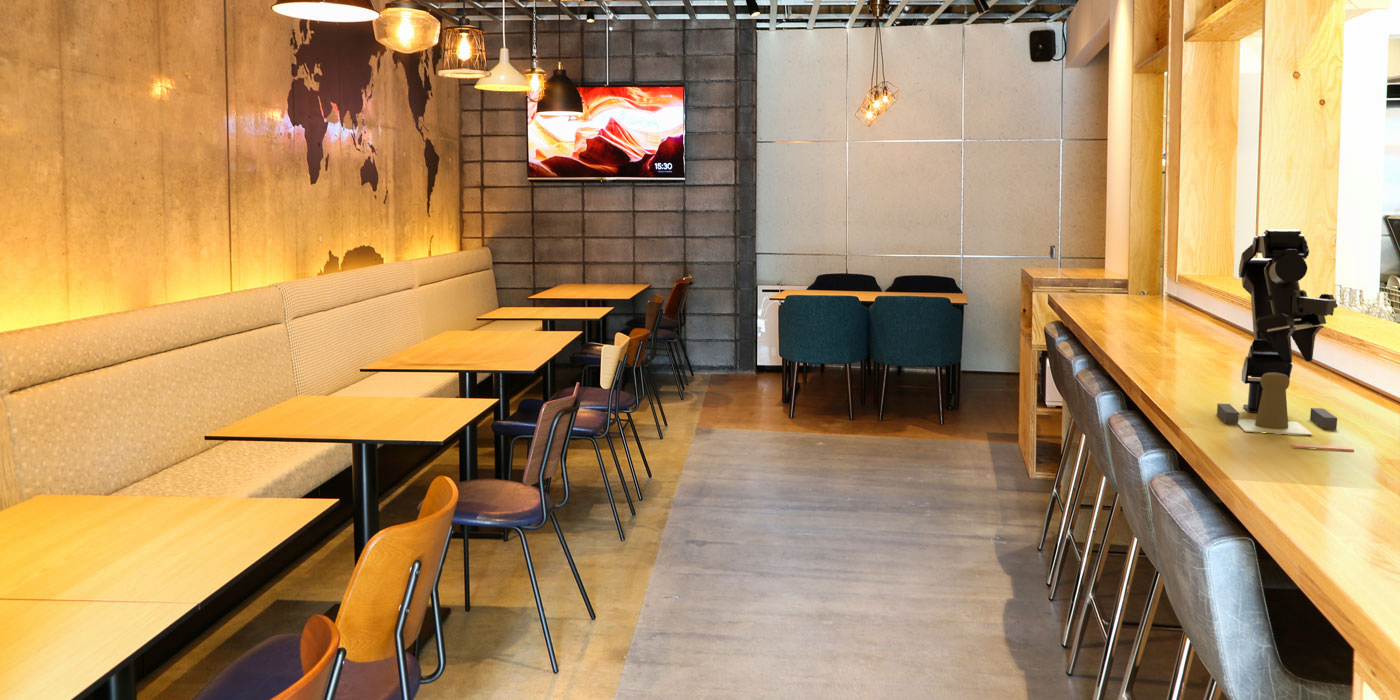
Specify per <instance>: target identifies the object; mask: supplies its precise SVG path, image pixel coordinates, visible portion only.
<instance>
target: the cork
mask: <svg viewBox="0 0 1400 700" xmlns="http://www.w3.org/2000/svg"><path fill="white" fill-rule="evenodd" d="M1260 383H1261V386H1262V387H1263V391H1262V396H1261V400H1260V404H1259V409H1258V412H1256V418H1255V420H1256V422H1255V425H1256V426H1258V427H1262V428H1268V429H1287V428H1288V421H1289V418H1288V417H1289V416H1288V402H1287V391H1286V390H1287V389H1288V388H1289V387H1290V379H1289V377H1288V376H1287V375H1285V374H1282V373H1275V372H1272V373H1265V374H1263V375H1262V377H1261V381H1260Z"/></svg>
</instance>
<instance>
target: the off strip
mask: <svg viewBox="0 0 1400 700" xmlns="http://www.w3.org/2000/svg"><path fill="white" fill-rule="evenodd" d="M1290 446H1291V447H1292V448H1293V447H1294V448H1293V449H1300V448H1316V449H1315V450H1317V449H1327V450H1326V451H1334V450H1337V452H1338V451H1339V452H1350V453H1352V452H1355V449H1354V448H1353V447H1351V446H1337V445H1336V446H1335V445H1323V444H1322V445H1321V444H1320V445H1319V444H1305V443H1304V444H1303V443H1290Z"/></svg>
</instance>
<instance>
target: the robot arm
mask: <svg viewBox="0 0 1400 700" xmlns="http://www.w3.org/2000/svg"><path fill="white" fill-rule="evenodd" d="M1301 233H1302V232H1301V229H1296V228H1294V229H1293V228H1292V229H1291V228H1287V229H1285V228H1283V229H1281V228H1278V229H1277V228H1276V229H1275V228H1267V229H1265V231H1264V232H1263V234H1261V235H1260V234H1259V235H1257V236H1253V240H1252V244H1251V245H1250V246H1248V247H1247V248H1246V249H1245V250H1244V251H1243V252H1242V253H1241V255H1240V257H1241V258H1240V262H1239V265H1238V266H1239V267H1238V277H1239V278H1240V279H1241V285H1242V288H1243V289H1244V290H1245V291H1246V292H1247V293H1249V295H1250V301H1251V315H1252V317H1251V318H1252V330H1253V331H1252V332H1253V342H1251V343H1252V344H1251V345H1250V347H1249V350H1248V354H1247V355H1246V356H1245V358H1244V362H1243V366H1242V369H1241V382H1243V383H1244V384H1246V385H1247V384H1249V385H1248V386H1249V387H1248V397H1247V398H1248V399H1247V404H1242V405H1243V406H1242V407H1243V408H1244V409H1245V410H1246V411H1248V412H1250V413H1258V409H1259V404H1260V400H1261V396H1262V391H1263V387H1262V386H1261V383H1260V381H1261V377H1262V375H1263V374H1265V373H1272V372H1275V373H1282V374H1285V375H1287V376H1288V377H1289V380H1290V377H1291V374H1292V369H1293V364H1292V362H1293V352H1292V340H1293V341H1294V343H1295V345H1296V347H1297V348H1298V350H1299V352H1300V354H1301V356H1302V357H1303V358H1304V361H1305V362H1312V361H1313V358H1314V356H1313V355H1314V349H1315V348H1314V347H1315V341H1316V335H1317V334H1318V333H1319V332H1320V330H1321V329H1323V328H1324V325H1326V324H1327V320H1326V317H1327V316H1334V312H1335V309H1337V308H1338V304H1337V299H1335V297H1334V295H1333V294H1331V293H1321V294H1320V295H1319V297H1312V296H1311V297H1310V296H1308V294H1307V291H1306V290H1304V289H1301V288H1300V283H1299V281H1300V280H1302V279H1303V278H1304V277H1306V274H1307V273H1308V272H1307V271H1308V265H1307V262H1306V261H1305V260H1306V259H1307V257H1309V254H1310V250H1309V249H1310V248H1309V246H1308V241H1307V240H1306V238H1305V235H1304V234H1301ZM1257 254H1261V256H1262V257H1255V256H1257Z"/></svg>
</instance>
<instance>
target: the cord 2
mask: <svg viewBox="0 0 1400 700" xmlns="http://www.w3.org/2000/svg"><path fill="white" fill-rule="evenodd" d="M1309 419H1310V420H1311V421H1312V420H1313V421H1314V422H1313V421H1312V422H1313V423H1315V424H1316V423H1317V424H1318V425H1317V424H1316V425H1317V426H1319V427H1320V426H1321V427H1322V428H1325V429H1324V430H1334V429H1336V430H1337V426H1338V417H1337V416H1335V415H1334V414H1333V413H1331V412H1329V410H1326V409H1325V408H1322V407H1319V408H1317V407H1310V417H1309ZM1321 427H1320V428H1321ZM1322 428H1321V429H1322Z"/></svg>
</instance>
